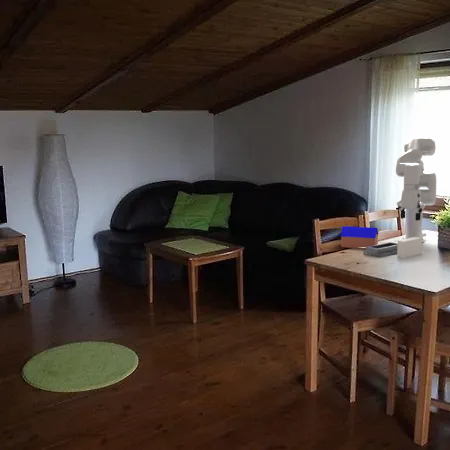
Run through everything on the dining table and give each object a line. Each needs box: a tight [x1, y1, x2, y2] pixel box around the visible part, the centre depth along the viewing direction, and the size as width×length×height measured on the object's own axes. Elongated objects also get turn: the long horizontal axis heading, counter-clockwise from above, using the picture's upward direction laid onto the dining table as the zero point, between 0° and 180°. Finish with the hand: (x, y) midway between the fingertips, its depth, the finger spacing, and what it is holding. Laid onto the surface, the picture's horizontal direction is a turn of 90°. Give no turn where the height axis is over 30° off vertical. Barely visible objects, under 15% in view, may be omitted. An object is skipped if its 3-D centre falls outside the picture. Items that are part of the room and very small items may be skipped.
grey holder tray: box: [363, 241, 398, 258], centre depth 304 cm, size 20×12×4 cm, turn 124°
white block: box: [396, 237, 423, 259], centre depth 296 cm, size 15×4×9 cm, turn 124°
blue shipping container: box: [340, 225, 379, 249], centre depth 322 cm, size 12×20×12 cm, turn 66°
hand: (410, 219), depth 293 cm, fingers open, 9 cm apart
